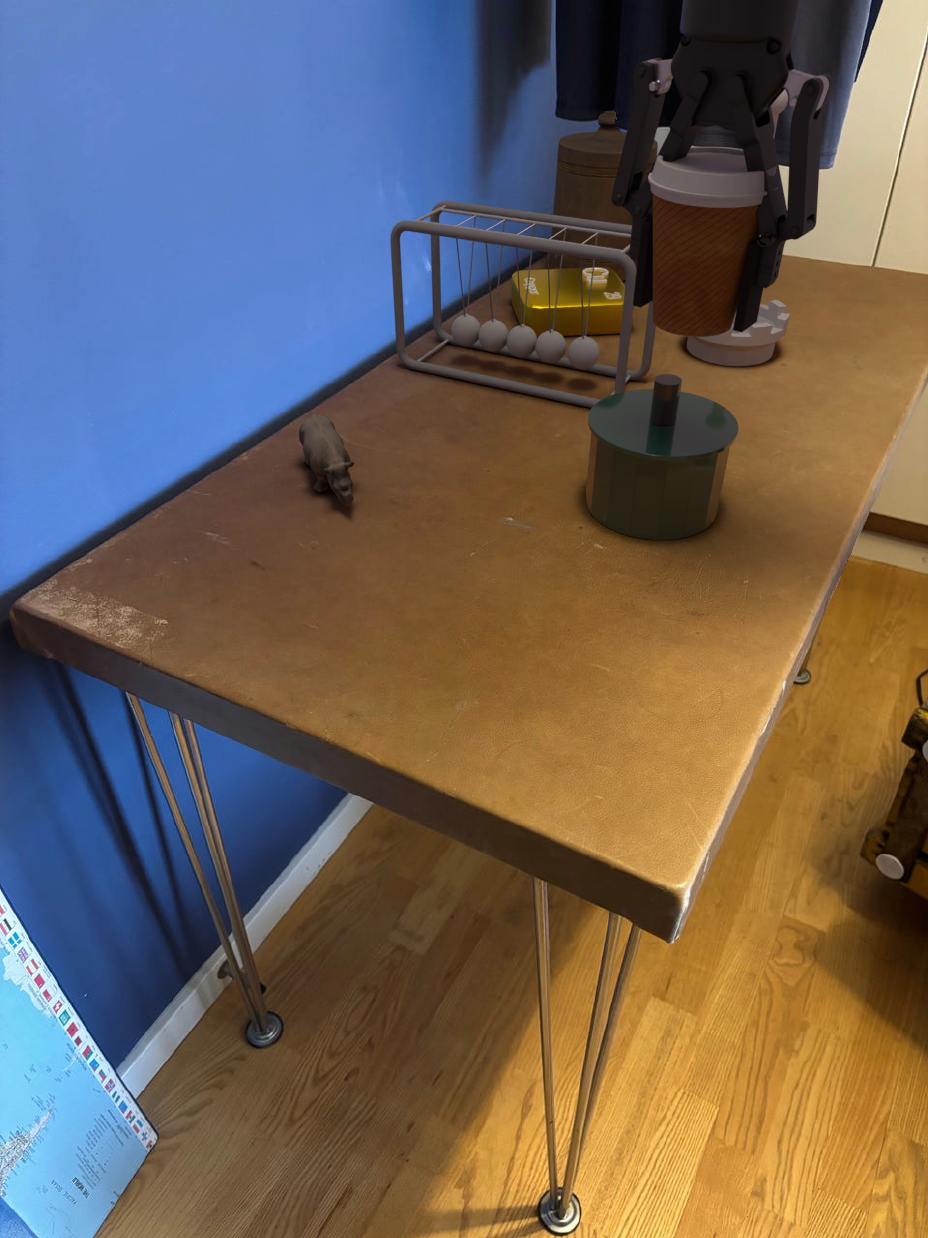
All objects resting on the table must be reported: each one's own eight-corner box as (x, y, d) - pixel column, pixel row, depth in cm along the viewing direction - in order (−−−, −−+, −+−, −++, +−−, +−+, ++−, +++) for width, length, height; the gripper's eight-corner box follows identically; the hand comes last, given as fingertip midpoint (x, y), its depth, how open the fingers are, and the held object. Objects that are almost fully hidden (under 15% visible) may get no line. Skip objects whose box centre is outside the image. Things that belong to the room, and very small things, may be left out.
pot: (738, 498, 90) (755, 419, 85) (677, 556, 82) (691, 473, 77) (628, 460, 96) (637, 384, 91) (561, 510, 89) (566, 431, 83)
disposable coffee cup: (627, 340, 71) (645, 172, 63) (637, 297, 78) (654, 142, 70) (753, 350, 69) (788, 179, 61) (752, 305, 76) (782, 147, 69)
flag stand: (788, 371, 113) (851, 96, 94) (682, 367, 114) (722, 95, 96) (773, 331, 123) (826, 76, 104) (675, 328, 125) (710, 75, 106)
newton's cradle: (650, 381, 111) (669, 229, 100) (620, 415, 104) (637, 255, 93) (436, 338, 122) (432, 197, 111) (395, 367, 115) (387, 219, 104)
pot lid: (761, 425, 85) (772, 373, 82) (692, 483, 77) (702, 429, 74) (634, 387, 92) (640, 337, 89) (558, 437, 84) (562, 385, 80)
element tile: (509, 299, 134) (509, 266, 131) (609, 295, 135) (612, 262, 132) (524, 339, 122) (525, 303, 119) (634, 333, 123) (638, 298, 120)
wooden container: (655, 260, 147) (674, 106, 133) (626, 289, 137) (643, 125, 123) (569, 248, 152) (579, 99, 138) (535, 275, 142) (541, 116, 128)
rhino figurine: (329, 526, 87) (322, 471, 83) (297, 460, 97) (289, 408, 93) (370, 518, 88) (366, 462, 84) (334, 453, 98) (329, 401, 94)
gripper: (577, -38, 61) (558, 298, 76) (892, -25, 51) (801, 360, 66) (633, -44, 66) (605, 274, 80) (932, -33, 56) (839, 328, 70)
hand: (693, 313), depth 73 cm, fingers closed on disposable coffee cup, 8 cm apart
